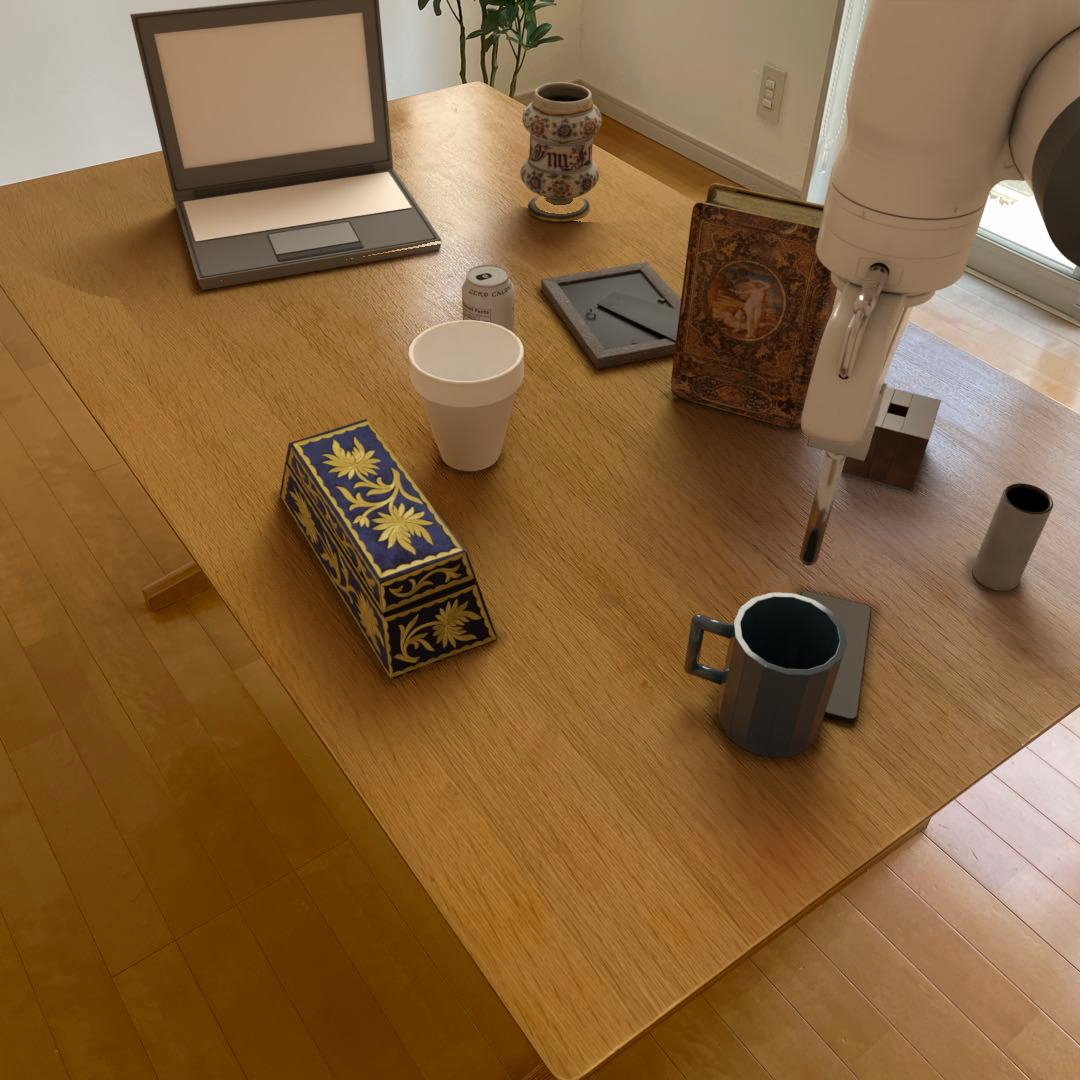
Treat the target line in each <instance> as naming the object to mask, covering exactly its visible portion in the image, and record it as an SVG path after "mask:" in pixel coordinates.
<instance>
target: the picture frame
mask: <svg viewBox="0 0 1080 1080" xmlns="http://www.w3.org/2000/svg"><path fill="white" fill-rule="evenodd" d="M540 284H541V285H540V289H541V291H542V293H543V294H544V296H545V297H546V299H547V300H548V301H549V303H550V304H551V305H552V307H553V308H554V310H555V311H556V312H557V315H558V316H559V317H560V319H561V320H562V322H563V323H564V324H565V326H566V327H567V329H568V330H569V331H570V333H571V334H572V336H573V337H574V338H575V340H576V342H577V343H578V344H579V346H580V347H581V348H582V350H583V352H584V353H585V355H587V357H588V358H589V360H590V361H591V363H592V364H593V366H594V367H595V369H596V370H600V369H604V368H610V367H615V366H621V365H625V364H631V363H636V362H641V361H646V360H647V361H648V360H652V359H658V358H662V357H667V356H672V355H673V356H674V353H675V345H676V337H677V329H678V321H679V313H680V305H681V298H680V297H679V296H678V295H677V294H676V293H675V292H674V290H673V289H672V288H671V287H670V286H669V285H668V284H667V283H666V282H665V280H664V279H663V278H662V277H661V276H660V275H659V273H658V272H657V271H656V270H655V269H654V268H653V267H652V265H651V264H650V263H649V262H648V261H642V262H637V263H631V264H624V265H619V266H612V267H606V268H600V269H595V270H589V271H583V272H575V273H571V274H564V275H558V276H552V277H545V278H541V280H540Z"/></svg>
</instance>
